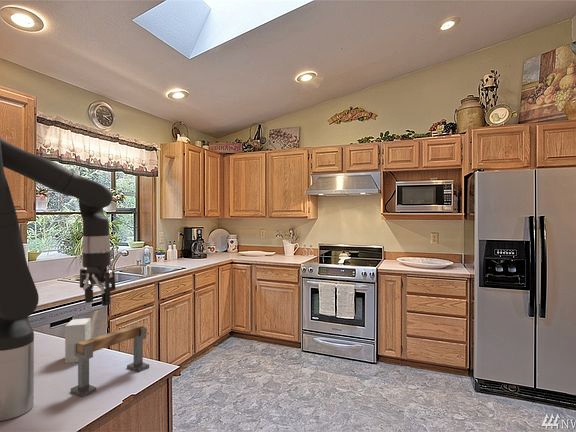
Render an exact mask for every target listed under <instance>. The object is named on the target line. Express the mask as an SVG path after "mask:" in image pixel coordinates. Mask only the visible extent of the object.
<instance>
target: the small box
mask: <svg viewBox="0 0 576 432" xmlns="http://www.w3.org/2000/svg"><path fill="white" fill-rule="evenodd" d="M91 321H92V318H90V317H88V318H87V317H86V318H77V319H75V318H74V319H71V320H69V322H68V323H67V324H65V325H64V335H65V336H64V340H65V341H64V345H65V347H64V352H65V354H64V355H65V356H64V358H65V361H64V363H65V364H71V363H78V357H76V356H74V344H75V343H78V342H82V341H85V340H88V339H91V338H92V337H91V336H92V334H91V333H92V332H91V331H92V326H91V325H92V322H91Z"/></svg>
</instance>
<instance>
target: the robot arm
mask: <svg viewBox="0 0 576 432" xmlns="http://www.w3.org/2000/svg"><path fill="white" fill-rule="evenodd" d="M4 169H8V170H10V171H12V172H15V173H17V174H19V175H22V176H23V177H26V178H27V179H30V180H31V181H34V182H35V183H38V184H40V185H41V186H44V187H47V188H48V189H50V190H53V191H54V192H56V193H59V194H61V195H63V196H69V197H73V198H76V199H78V206H79V210H80V216H81V219H82V242H81V243H82V244H81V246H82V247H81V249H82V251H81V256H82V263H81V265H82V267H83V268H80V270H79V288H80V289H83V291H84V302H85V303H86V304H89V303H91V302H93V301H94V287H95V285H96V286H97V288H99V290H100V292H101V306H103V307H106V306H109V305H110V304H111V292H114V291H116V275H115V274H116V273H115V270H108V267H109V266H110V265H111V239H110V222H109V219H108V218H107V217H106V216H105V214H104V208H106V207H108V206H110V204H112V202H113V194H112V191H111V190H110V189H109V188H108V187H107V186H106V185H104V184H101V182H100V183H99V182H98V181H96V180H92V179H90V178H87V177H84V176H81V175H79V174H77V173H76V172H74V171H72V170H70V169H68V168H67V167H64V166H62V165H61V164H59V163H57V162H55V161H52V160H50V159H48V158H45V157H43V156H40V155H36V154H35V153H32V152H29V151H26V150H23V149H22V148H20V147H17V146H16V145H13V144H11V143H10V142H8V141H6V140H5V139H4V138H2V137H0V422H1V421H7V420H11V419H15V418H17V417H20V416H22V415H24V414H26V413H27V412H29V411H31V410H32V409H33V407H34V405H35V404H34V403H35V401H34V399H35V395H34V394H35V393H34V392H35V391H34V390H35V389H34V385H35V382H34V381H35V380H34V379H35V377H34V375H35V374H34V373H35V372H34V369H35V365H34V364H35V363H34V362H35V361H34V360H35V358H34V357H35V356H34V354H35V346H34V345H35V333H34V329H33V328H32V326H31V324H30V320H29V317H30V316H31V315H32V314H33V313H34V312H35V311H36V309H37V308H38V305H39V299H40V298H39V296H40V295H39V293H38V289H37V287H36V284H35V282H34V279H33V275H32V274H31V271H30V268H29V265H28V261H27V258H26V253H25V252H26V251H25V247H24V243H23V238H22V234H21V229H20V223H19V219H18V215H17V210H16V207H15V203H14V200H13V195H12V193H11V189H10V186H9V184H8V180H7V177H6V174H5V173H6V172H5V170H4ZM110 284H111V285H110Z"/></svg>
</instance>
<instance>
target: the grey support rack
mask: <svg viewBox="0 0 576 432" xmlns="http://www.w3.org/2000/svg"><path fill="white" fill-rule="evenodd" d="M146 339H147V327H145V326H144V328H141V329H139V336H138V337H135V338H133V362H131V363H129V364H127V365H126V369H128V370H131V371H134V372H137V373H139V372H143V371H144V370H146V369H147V370H148V369H149V368H150V364H149V363H146V362H144V361H143V359H144V357H143V355H144V354H143V351H144V350H143V349H144V345H143V344H144V343H143V341H144V340H146ZM74 356H76V357H78V362H77V385H76V386H74V387H71V388H70V393H73V394H74V395H77V396H79V397H82V398H84V397H87V396H88V395H91V394H93V393H95V392H97V390H98V389H97V386H94V385H91V384H90V359H92V358H94V352H93V345H88V346H85V347H84V355H81V354H78V353H77V343H75V344H74Z"/></svg>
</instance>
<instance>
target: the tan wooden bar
mask: <svg viewBox="0 0 576 432" xmlns="http://www.w3.org/2000/svg"><path fill="white" fill-rule="evenodd" d="M144 327H145V325H143V324H139V323H138V324H134V325H131V326H128V327H125V328H121V329H118V330H115V331H112V332H108V333H105V334H102V335H98V336H95V337H91V339H88V340H85V341H82V342H78V343H77V353H78V354H81V355H84V347H85V346H88V345H93V353H94V352H96V351H100V350H103V349H105V348H108V347H112V346H115V345H117V344H121V343H123V342H126V341H129V340H132V339H134V338H135V337H138V336H139V329H141V328H144Z"/></svg>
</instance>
